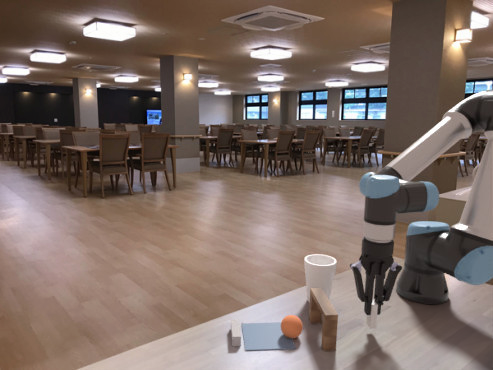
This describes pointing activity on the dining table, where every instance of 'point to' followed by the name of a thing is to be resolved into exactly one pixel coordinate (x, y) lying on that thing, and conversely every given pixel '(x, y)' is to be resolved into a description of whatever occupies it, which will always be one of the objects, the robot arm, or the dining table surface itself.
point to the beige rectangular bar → (235, 333)
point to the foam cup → (319, 273)
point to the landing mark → (265, 337)
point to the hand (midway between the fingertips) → (371, 325)
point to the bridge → (324, 318)
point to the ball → (291, 326)
